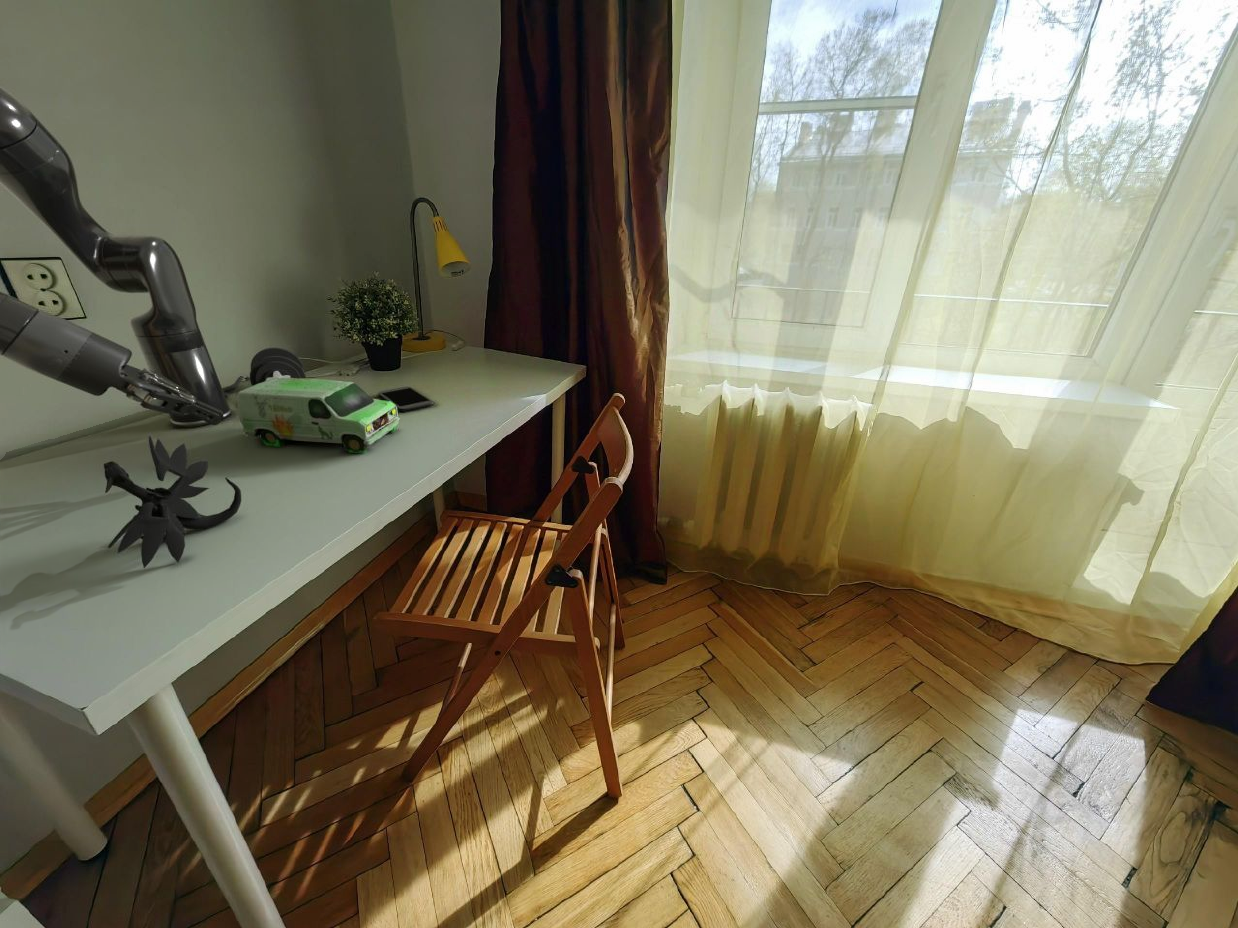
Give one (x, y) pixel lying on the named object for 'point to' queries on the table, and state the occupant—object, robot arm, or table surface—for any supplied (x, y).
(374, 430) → the toy car
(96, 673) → the table surface
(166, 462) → the figurine
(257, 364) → the dumbbell
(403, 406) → the smartphone
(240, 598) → the table surface
